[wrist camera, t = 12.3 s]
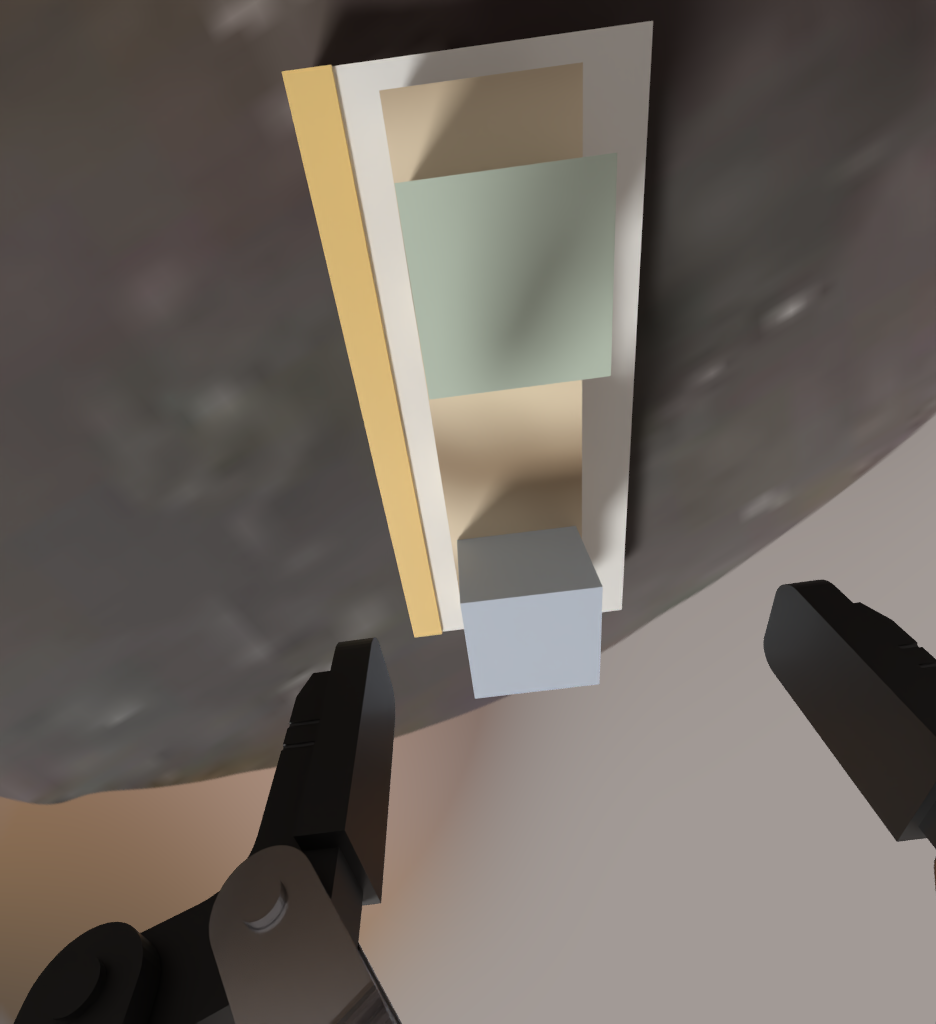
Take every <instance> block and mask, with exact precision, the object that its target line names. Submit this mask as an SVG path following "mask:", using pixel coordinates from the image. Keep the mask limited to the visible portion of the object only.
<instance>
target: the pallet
mask: <svg viewBox="0 0 936 1024" xmlns="http://www.w3.org/2000/svg"><path fill="white" fill-rule="evenodd" d="M379 93H380V99H381V105H382V112H383V118H384V124H385V130H386V137H387V143H388V149H389V155H390V162H391V168H392V174H393V181H394V183H400V182H407V181H414V180H422V179H429V178H436V177H443V176H451V175H458V174H465V173H472V172H480V171H487V170H494V169H501V168H509V167H516V166H523V165H530V164H538V163H545V162H552V161H559V160H567V159H574V158H581V157H583V62H581V63H574V64H567V65H559V66H552V67H545V68H538V69H531V70H523V71H516V72H509V73H502V74H494V75H487V76H480V77H473V78H466V79H458V80H451V81H444V82H437V83H429V84H422V85H415V86H408V87H401V88H393V89H386V90H379ZM394 187H395V184H394ZM395 193H396V191H395ZM396 199H397V197H396ZM397 206H398V203H397ZM398 212H399V209H398ZM399 218H400V215H399ZM400 224H401V222H400ZM401 231H402V228H401ZM402 237H403V234H402ZM403 243H404V240H403ZM404 249H405V246H404ZM405 256H406V253H405ZM406 262H407V259H406ZM407 268H408V265H407ZM408 274H409V271H408ZM409 281H410V277H409ZM410 287H411V284H410ZM411 293H412V290H411ZM412 300H413V296H412ZM413 306H414V302H413ZM414 312H415V308H414ZM415 318H416V315H415ZM416 325H417V321H416ZM417 331H418V327H417ZM418 337H419V333H418ZM419 343H420V339H419ZM420 350H421V346H420ZM421 356H422V352H421ZM422 362H423V358H422ZM423 368H424V364H423ZM424 375H425V370H424ZM425 381H426V377H425ZM426 387H427V383H426ZM427 393H428V389H427ZM428 400H429V395H428ZM429 406H430V412H431V418H432V425H433V431H434V437H435V444H436V450H437V456H438V462H439V469H440V475H441V481H442V487H443V494H444V500H445V506H446V512H447V519H448V525H449V531H450V537H451V544H452V550H453V556H454V563H455V569H456V575H457V581H458V588H459V571H458V552H457V540H462V539H470V538H479V537H487V536H495V535H504V534H512V533H520V532H529V531H537V530H545V529H554V528H562V527H570V526H576V527H577V530H578V532H579V534H580V536H581V539H582V380H577V381H569V382H561V383H554V384H546V385H538V386H530V387H523V388H515V389H507V390H500V391H492V392H484V393H477V394H469V395H461V396H454V397H446V398H438V399H430V400H429ZM459 594H460V590H459Z"/></svg>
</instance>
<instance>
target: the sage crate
mask: <svg viewBox="0 0 936 1024" xmlns="http://www.w3.org/2000/svg"><path fill="white" fill-rule="evenodd" d="M616 182H617V153H610V154H603V155H595V156H588V157H581V158H574V159H567V160H559V161H552V162H545V163H538V164H530V165H523V166H516V167H509V168H501V169H494V170H487V171H480V172H472V173H465V174H458V175H451V176H443V177H436V178H429V179H422V180H414V181H407V182H400V183H394V184H395V191H396V197H397V203H398V209H399V215H400V222H401V228H402V234H403V240H404V246H405V253H406V259H407V265H408V271H409V277H410V284H411V290H412V296H413V302H414V308H415V315H416V321H417V327H418V333H419V339H420V346H421V352H422V358H423V364H424V370H425V377H426V383H427V389H428V395H429V400H430V399H438V398H446V397H454V396H461V395H469V394H477V393H484V392H492V391H500V390H507V389H515V388H523V387H530V386H538V385H546V384H554V383H561V382H569V381H577V380H584V379H592V378H600V377H607V376H611V352H612V318H613V284H614V250H615V216H616Z"/></svg>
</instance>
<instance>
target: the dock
mask: <svg viewBox="0 0 936 1024" xmlns="http://www.w3.org/2000/svg"><path fill="white" fill-rule="evenodd" d="M652 34H653V21H647V22H640V23H633V24H626V25H619V26H612V27H605V28H598V29H591V30H584V31H577V32H570V33H563V34H556V35H549V36H542V37H535V38H528V39H521V40H513V41H506V42H499V43H492V44H485V45H478V46H471V47H464V48H457V49H450V50H443V51H436V52H429V53H422V54H415V55H408V56H401V57H394V58H387V59H380V60H373V61H366V62H358V63H351V64H344V65H337V66H332V65H325V66H318V67H311V68H303V69H296V70H289V71H282V75H283V79H284V84H285V88H286V92H287V96H288V101H289V105H290V109H291V113H292V118H293V122H294V126H295V131H296V135H297V139H298V143H299V148H300V152H301V156H302V160H303V165H304V169H305V173H306V177H307V182H308V186H309V190H310V194H311V199H312V203H313V207H314V211H315V216H316V220H317V224H318V228H319V233H320V237H321V241H322V245H323V250H324V254H325V258H326V262H327V267H328V271H329V275H330V279H331V284H332V288H333V292H334V297H335V301H336V305H337V309H338V314H339V318H340V322H341V326H342V331H343V335H344V339H345V343H346V348H347V352H348V356H349V360H350V365H351V369H352V373H353V377H354V382H355V386H356V390H357V394H358V399H359V403H360V407H361V411H362V416H363V420H364V424H365V428H366V433H367V437H368V441H369V445H370V450H371V454H372V458H373V463H374V467H375V471H376V475H377V480H378V484H379V488H380V492H381V497H382V501H383V505H384V509H385V514H386V518H387V522H388V526H389V531H390V535H391V539H392V543H393V548H394V552H395V556H396V560H397V565H398V569H399V573H400V577H401V582H402V586H403V590H404V594H405V599H406V603H407V607H408V611H409V616H410V620H411V624H412V628H413V633H414V637H421V636H430V635H438V634H442V631H451V630H459V629H464V625H463V618H462V612H461V606H460V594H459V588H458V581H457V575H456V569H455V563H454V556H453V550H452V544H451V537H450V531H449V525H448V519H447V512H446V506H445V500H444V494H443V487H442V481H441V475H440V469H439V462H438V456H437V450H436V444H435V437H434V431H433V425H432V418H431V412H430V406H429V400H428V393H427V387H426V381H425V375H424V368H423V362H422V356H421V350H420V343H419V337H418V331H417V325H416V318H415V312H414V306H413V300H412V293H411V287H410V281H409V274H408V268H407V262H406V256H405V249H404V243H403V237H402V231H401V224H400V218H399V212H398V206H397V199H396V193H395V187H394V181H393V174H392V168H391V162H390V155H389V149H388V143H387V137H386V130H385V124H384V118H383V112H382V105H381V99H380V93H379V90H386V89H393V88H401V87H408V86H415V85H422V84H429V83H437V82H444V81H451V80H458V79H466V78H473V77H480V76H487V75H494V74H502V73H509V72H516V71H523V70H531V69H538V68H545V67H552V66H559V65H567V64H574V63H581V62H583V157H588V156H595V155H603V154H610V153H617V182H616V216H615V250H614V284H613V318H612V352H611V376H607V377H600V378H592V379H584V380H582V541H583V543H584V545H585V548H586V550H587V552H588V555H589V557H590V559H591V561H592V564H593V566H594V568H595V570H596V573H597V575H598V577H599V579H600V582H601V584H602V586H603V593H602V612H608V611H616V610H622V591H623V573H624V554H625V536H626V517H627V499H628V480H629V461H630V443H631V424H632V406H633V387H634V369H635V350H636V331H637V313H638V294H639V276H640V257H641V239H642V220H643V202H644V183H645V164H646V146H647V127H648V109H649V90H650V72H651V53H652Z"/></svg>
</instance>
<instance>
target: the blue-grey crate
mask: <svg viewBox="0 0 936 1024" xmlns="http://www.w3.org/2000/svg"><path fill="white" fill-rule="evenodd" d="M457 552H458V571H459V590H460V606H461V612H462V618H463V625H464V631H465V638H466V644H467V650H468V657H469V663H470V669H471V676H472V682H473V689H474V695H475V698H484V697H493V696H501V695H510V694H519V693H527V692H536V691H544V690H553V689H562V688H571V687H579V686H588V685H597V684H599V682H600V680H599V679H600V653H601V623H602V593H603V586H602V584H601V582H600V579H599V577H598V575H597V573H596V570H595V568H594V566H593V564H592V561H591V559H590V557H589V555H588V552H587V550H586V548H585V545H584V543H583V541H582V539H581V536H580V534H579V532H578V530H577V527H576V526H570V527H562V528H554V529H545V530H537V531H529V532H520V533H512V534H504V535H495V536H487V537H479V538H470V539H462V540H457Z"/></svg>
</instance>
